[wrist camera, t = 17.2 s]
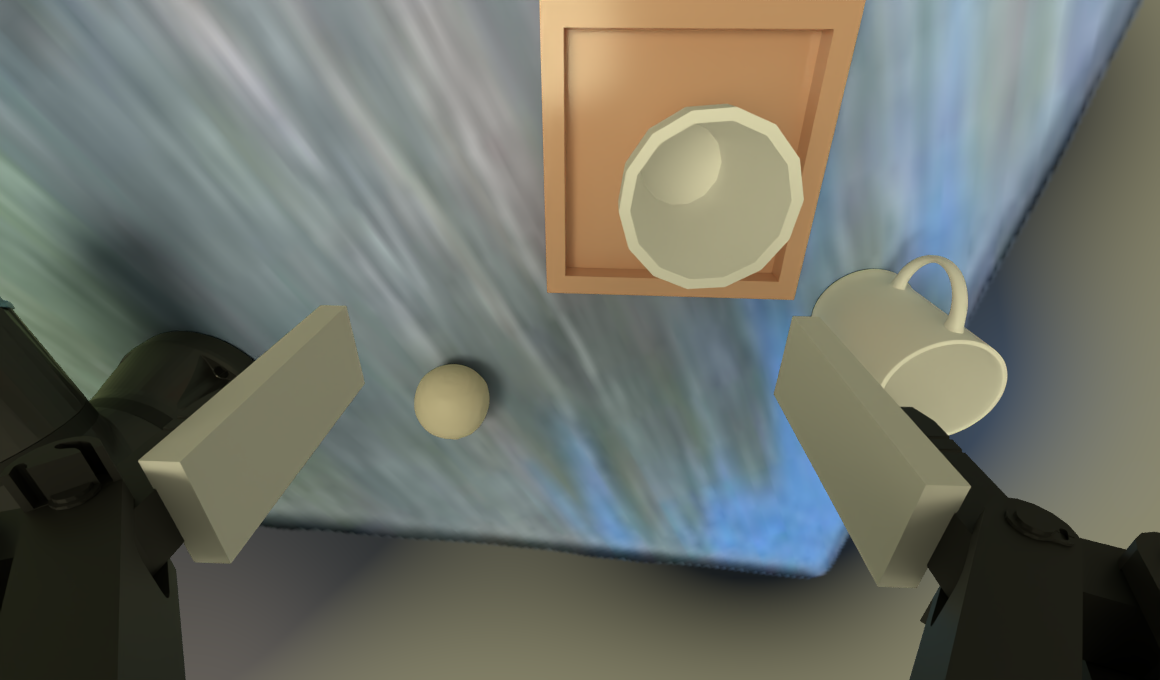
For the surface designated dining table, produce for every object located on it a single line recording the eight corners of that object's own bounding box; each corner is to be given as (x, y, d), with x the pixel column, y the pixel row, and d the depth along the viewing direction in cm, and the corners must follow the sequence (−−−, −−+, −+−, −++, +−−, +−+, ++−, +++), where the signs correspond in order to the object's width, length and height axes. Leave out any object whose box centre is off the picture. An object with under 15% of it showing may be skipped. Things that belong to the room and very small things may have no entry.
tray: (782, 285, 42) (793, 299, 40) (550, 278, 43) (547, 292, 41) (845, 5, 33) (865, 0, 30) (545, 4, 34) (539, -2, 31)
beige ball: (427, 406, 51) (404, 450, 45) (428, 346, 47) (403, 385, 42) (492, 417, 51) (477, 462, 45) (498, 358, 48) (482, 399, 42)
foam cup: (714, 65, 34) (766, 66, 23) (762, 185, 38) (828, 238, 26) (594, 139, 37) (586, 173, 25) (649, 245, 40) (665, 315, 29)
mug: (853, 221, 39) (941, 277, 29) (954, 242, 40) (1077, 304, 29) (794, 346, 45) (850, 430, 35) (883, 363, 46) (965, 452, 35)
